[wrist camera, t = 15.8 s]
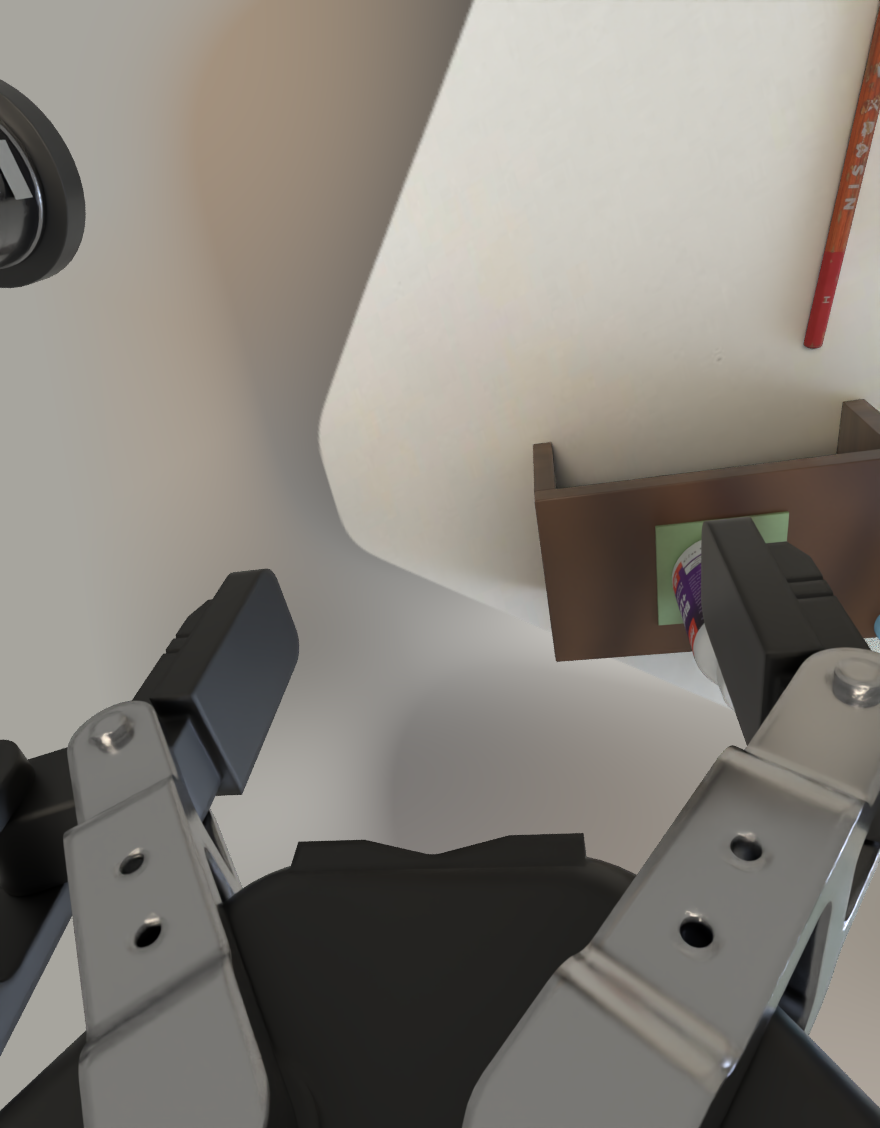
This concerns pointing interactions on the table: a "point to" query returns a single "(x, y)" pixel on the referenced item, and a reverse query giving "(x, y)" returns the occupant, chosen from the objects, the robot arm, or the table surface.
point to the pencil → (847, 194)
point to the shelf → (674, 522)
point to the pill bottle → (696, 615)
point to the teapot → (877, 627)
